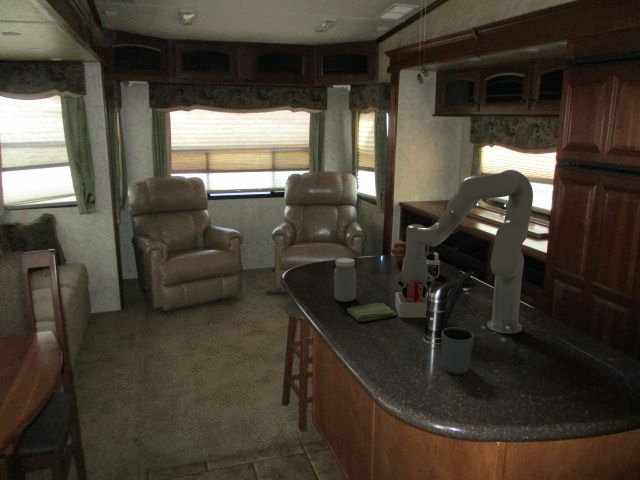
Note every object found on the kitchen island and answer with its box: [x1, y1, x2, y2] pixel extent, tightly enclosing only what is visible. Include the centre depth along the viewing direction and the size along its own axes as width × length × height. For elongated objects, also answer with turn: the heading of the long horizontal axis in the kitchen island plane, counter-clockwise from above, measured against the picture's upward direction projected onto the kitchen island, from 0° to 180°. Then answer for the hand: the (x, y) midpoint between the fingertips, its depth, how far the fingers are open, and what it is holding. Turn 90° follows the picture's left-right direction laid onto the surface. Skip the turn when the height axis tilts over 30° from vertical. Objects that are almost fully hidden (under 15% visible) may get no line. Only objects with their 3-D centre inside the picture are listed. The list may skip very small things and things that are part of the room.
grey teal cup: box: [441, 326, 475, 375], centre depth 171 cm, size 10×10×12 cm
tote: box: [394, 291, 429, 318], centre depth 221 cm, size 14×14×6 cm
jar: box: [333, 257, 357, 303], centre depth 236 cm, size 10×10×18 cm
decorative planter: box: [390, 238, 428, 268], centre depth 289 cm, size 20×12×14 cm, turn 105°
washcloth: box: [346, 302, 397, 323], centre depth 219 cm, size 13×18×3 cm
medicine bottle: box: [425, 251, 441, 279], centre depth 270 cm, size 7×7×12 cm
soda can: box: [405, 280, 423, 303], centre depth 220 cm, size 7×7×12 cm
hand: (414, 296), depth 221 cm, fingers open, 7 cm apart
